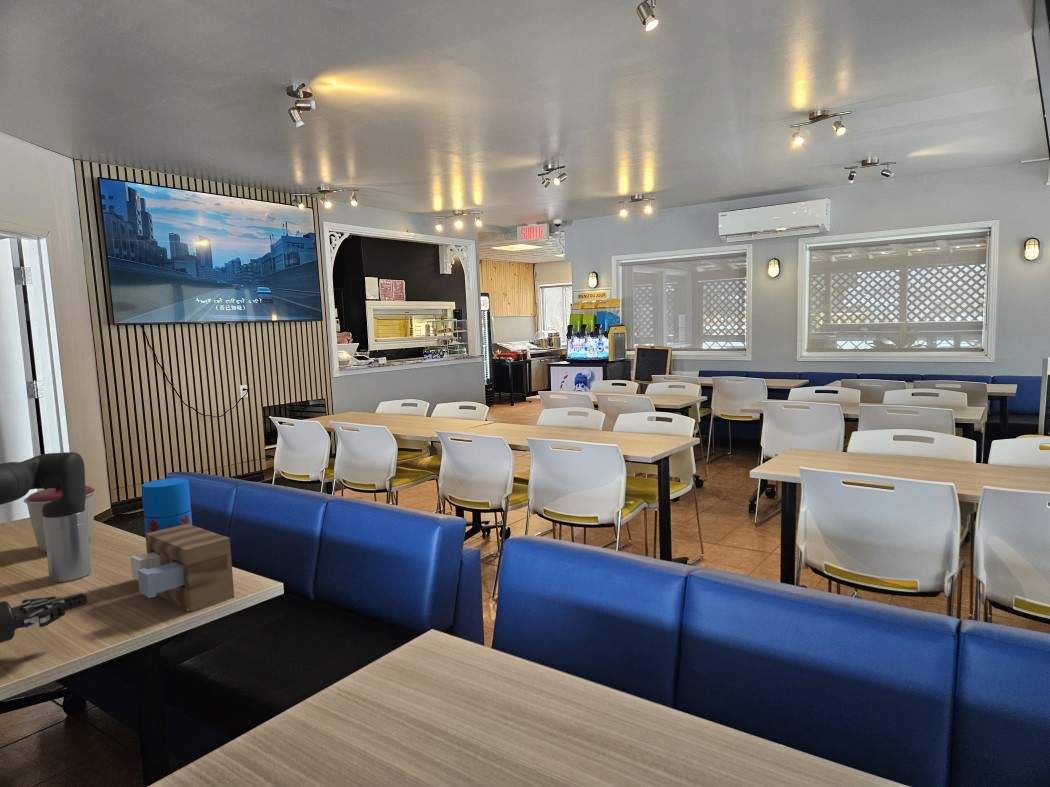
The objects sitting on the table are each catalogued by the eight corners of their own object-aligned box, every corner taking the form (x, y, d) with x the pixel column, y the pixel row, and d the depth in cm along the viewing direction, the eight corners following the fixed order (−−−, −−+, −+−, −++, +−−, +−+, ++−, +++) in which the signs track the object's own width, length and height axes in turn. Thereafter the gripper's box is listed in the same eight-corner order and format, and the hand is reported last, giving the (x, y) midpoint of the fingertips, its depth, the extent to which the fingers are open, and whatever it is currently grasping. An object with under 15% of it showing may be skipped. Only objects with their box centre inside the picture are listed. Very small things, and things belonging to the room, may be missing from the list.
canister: (26, 548, 199) (18, 480, 197) (95, 534, 211) (89, 470, 209) (33, 562, 186) (25, 489, 184) (107, 546, 198) (100, 478, 196)
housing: (150, 590, 161) (145, 533, 159) (191, 578, 168) (187, 523, 167) (191, 612, 147) (186, 549, 146) (234, 597, 155) (229, 537, 153)
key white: (132, 577, 155) (130, 556, 155) (182, 563, 164) (180, 543, 164) (141, 582, 152) (139, 560, 151) (191, 567, 161) (189, 546, 160)
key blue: (139, 592, 145) (137, 570, 145) (192, 576, 154) (190, 555, 154) (149, 598, 142) (147, 574, 142) (202, 581, 151) (200, 559, 150)
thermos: (176, 584, 164) (167, 487, 162) (139, 582, 166) (130, 487, 164) (205, 569, 175) (197, 477, 172) (170, 567, 177) (162, 477, 175)
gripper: (-15, 617, 117) (95, 587, 131) (-32, 601, 126) (73, 574, 139) (-10, 657, 118) (98, 623, 131) (-28, 638, 126) (76, 608, 140)
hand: (85, 598), depth 135 cm, fingers closed
